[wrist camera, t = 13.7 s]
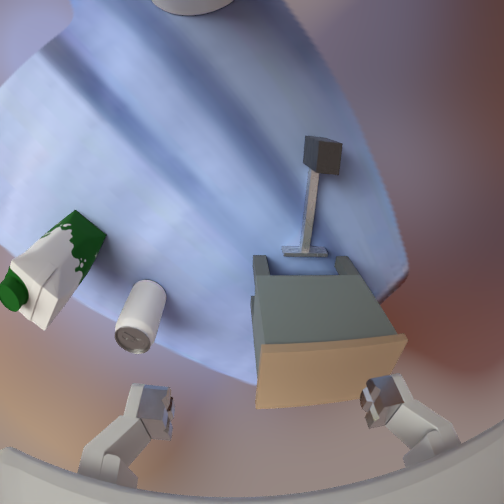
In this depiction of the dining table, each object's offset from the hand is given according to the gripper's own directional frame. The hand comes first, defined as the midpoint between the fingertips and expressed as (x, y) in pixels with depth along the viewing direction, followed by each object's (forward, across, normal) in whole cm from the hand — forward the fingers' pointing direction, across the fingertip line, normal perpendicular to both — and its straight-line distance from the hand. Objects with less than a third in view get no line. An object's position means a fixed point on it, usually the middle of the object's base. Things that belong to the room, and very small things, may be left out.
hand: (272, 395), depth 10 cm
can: (+34, +16, +20) cm, 43 cm away
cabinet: (+34, -10, +17) cm, 39 cm away
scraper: (+34, -10, +2) cm, 36 cm away
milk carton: (+34, +27, +9) cm, 45 cm away
